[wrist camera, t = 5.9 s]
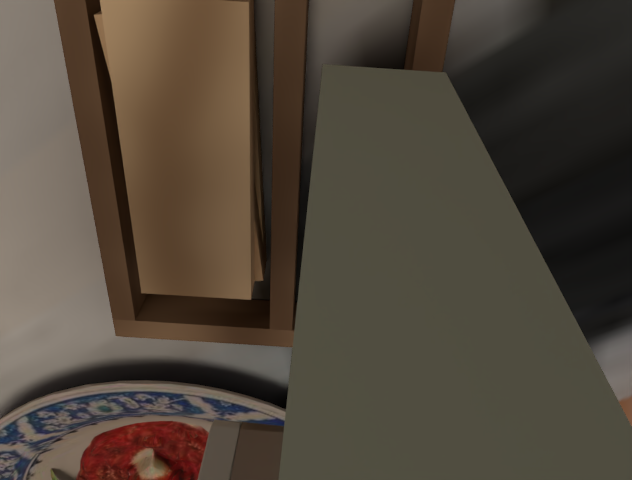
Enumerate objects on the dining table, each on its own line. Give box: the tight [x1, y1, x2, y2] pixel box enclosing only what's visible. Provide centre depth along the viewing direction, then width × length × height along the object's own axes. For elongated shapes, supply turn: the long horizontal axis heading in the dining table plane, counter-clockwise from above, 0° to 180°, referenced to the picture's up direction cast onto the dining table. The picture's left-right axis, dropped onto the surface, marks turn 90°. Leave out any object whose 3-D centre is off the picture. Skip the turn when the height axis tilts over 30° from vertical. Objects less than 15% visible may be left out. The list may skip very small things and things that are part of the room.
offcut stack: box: [94, 0, 267, 300], centre depth 21 cm, size 5×12×4 cm, turn 0°
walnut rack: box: [54, 0, 455, 347], centre depth 21 cm, size 13×18×2 cm
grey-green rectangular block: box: [279, 64, 632, 480], centre depth 11 cm, size 3×10×12 cm, turn 177°
